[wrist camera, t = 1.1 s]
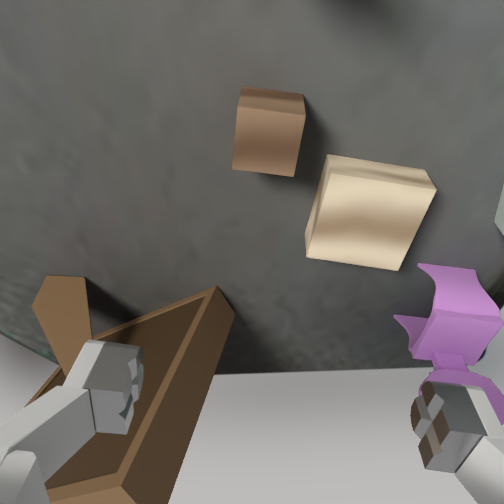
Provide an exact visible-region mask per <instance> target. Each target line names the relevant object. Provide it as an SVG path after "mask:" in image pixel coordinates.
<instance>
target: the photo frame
mask: <svg viewBox="0 0 504 504" xmlns="http://www.w3.org/2000/svg"><path fill="white" fill-rule="evenodd" d="M32 308H33V310H34V312H35V314H36V316H37V319H38V321H39V323H40V325H41V327H42V329H43V331H44V333H45V335H46V337H47V339H48V341H49V343H50V345H51V347H52V349H53V351H54V354H55V356H56V358H57V360H58V362H59V364H60V366H59V367H58V368H57V369H56V370H55V372H54V373H53V374H52V375H51V376H50V378H49V379H48V380H47V381H46V382H45V384H44V385H43V386H42V387H41V388H40V389H39V391H38V392H37V393H36V394H35V395H34V396H33V398H32V399H31V400H30V401H29V402H28V404H27V405H26V406H28V405H29V404H31V403H32V402H34V401H35V400H36V399H38V398H39V397H41V396H42V395H44V394H45V393H47V392H48V391H50V390H51V389H53V388H54V387H56V386H63V384H64V382H65V380H66V378H67V376H68V374H69V372H70V371H71V369H72V367H73V365H74V363H75V361H76V359H77V357H78V355H79V353H80V351H81V350H82V348H83V346H84V344H85V343H86V342H87V341H88V340H89V339H91V340H98V341H105V342H113V343H120V344H127V345H134V346H141V347H143V358H142V361H141V364H142V365H143V366H144V377H143V383H142V388H141V392H140V395H139V399H138V400H137V401H135V402H134V403H133V408H134V414H133V417H132V420H131V423H130V426H129V429H128V432H127V435H125V434H114V433H102V432H95V435H94V436H93V437H92V438H91V439H89V440H88V441H87V442H86V443H85V444H84V445H83V446H82V447H81V448H80V449H79V450H78V451H77V452H76V453H75V454H74V455H73V456H72V457H71V458H70V459H69V460H68V461H67V462H66V463H65V464H64V465H62V466H61V467H60V468H59V469H58V470H57V471H56V472H55V473H54V474H53V475H52V476H51V477H50V478H49V479H48V480H47V481H46V482H45V483H44V484H45V488H46V491H47V494H48V498H49V501H50V504H168V502H169V499H170V496H171V493H172V491H173V488H174V485H175V482H176V479H177V477H178V474H179V471H180V468H181V465H182V463H183V459H184V457H185V454H186V451H187V449H188V446H189V443H190V440H191V437H192V434H193V432H194V429H195V426H196V423H197V421H198V418H199V415H200V412H201V409H202V406H203V404H204V401H205V398H206V395H207V392H208V390H209V387H210V384H211V381H212V378H213V376H214V373H215V370H216V367H217V364H218V362H219V359H220V356H221V353H222V350H223V348H224V345H225V342H226V339H227V336H228V334H229V331H230V328H231V325H232V322H233V320H234V317H235V313H234V312H233V310H232V309H231V307H230V305H229V304H228V302H227V301H226V299H225V298H224V296H223V294H222V293H221V291H220V290H219V288H218V287H217V285H216V286H214V287H212V288H209V289H207V290H204V291H202V292H199V293H197V294H194V295H192V296H190V297H187V298H185V299H182V300H180V301H177V302H175V303H172V304H170V305H168V306H165V307H163V308H160V309H158V310H155V311H153V312H151V313H148V314H146V315H143V316H141V317H138V318H136V319H133V320H131V321H129V322H126V323H124V324H121V325H119V326H116V327H114V328H111V329H109V330H107V331H104V332H102V333H99V334H97V335H94V336H92V329H91V321H90V313H89V305H88V297H87V289H86V280H85V277H68V276H50V275H47V276H46V278H45V280H44V282H43V284H42V286H41V288H40V290H39V292H38V294H37V296H36V298H35V300H34V302H33V304H32ZM26 406H25V407H26ZM25 407H24V408H25Z"/></svg>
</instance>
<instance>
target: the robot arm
mask: <svg viewBox="0 0 504 504" xmlns="http://www.w3.org/2000/svg"><path fill="white" fill-rule="evenodd" d="M142 358H143V347H141V346H134V345H127V344H120V343H113V342H105V341H98V340H91V339H89V340H88V341H87V342H86V343H85V344H84V346H83V348H82V350H81V351H80V353H79V355H78V357H77V359H76V361H75V363H74V365H73V367H72V369H71V371H70V372H69V374H68V376H67V378H66V380H65V382H64V384H63V386H56V387H54V388H53V389H51V390H50V391H48V392H47V393H45V394H44V395H42V396H41V397H39V398H38V399H36V400H35V401H34V402H32V403H31V404H29V405H28V406H26V407H25V408H23V409H22V410H20V411H19V412H17V413H16V414H14V415H13V416H11V417H10V418H8V419H7V420H5V421H4V422H2V423H1V424H0V504H50V501H49V498H48V494H47V491H46V488H45V484H44V483H45V482H46V481H47V480H48V479H49V478H50V477H51V476H52V475H53V474H54V473H55V472H56V471H57V470H58V469H59V468H60V467H61V466H62V465H64V464H65V463H66V462H67V461H68V460H69V459H70V458H71V457H72V456H73V455H74V454H75V453H76V452H77V451H78V450H79V449H80V448H81V447H82V446H83V445H84V444H85V443H86V442H87V441H88V440H89V439H91V438H92V437H93V436H94V435H95V432H102V433H114V434H125V435H127V432H128V429H129V426H130V423H131V420H132V417H133V414H134V408H133V403H134V402H135V401H137V400H138V399H139V395H140V392H141V388H142V383H143V377H144V366H143V365H142V364H141V361H142ZM420 389H421V392H422V395H421V396H419V397H417V398H415V400H414V402H413V404H412V406H411V415H410V416H411V423H412V427H413V431H414V432H415V433H416V434H417V435H418V436H419V438H420V439H421V441H420V443H419V446H418V447H419V451H420V454H421V457H422V460H423V464H424V467H425V469H428V470H435V471H442V472H449V473H456V474H455V476H456V477H457V478H458V479H459V481H460V482H461V483H462V484H463V485H464V487H465V488H466V489H467V491H468V492H469V493H470V494H471V495H472V497H473V498H474V499H475V501H476V502H477V503H478V504H504V430H503V428H502V426H501V424H500V422H499V420H498V418H497V416H496V414H495V412H494V410H493V408H492V406H491V404H490V402H489V400H488V398H487V396H486V394H485V392H484V390H483V389H482V388H481V387H478V386H470V385H460V384H454V383H445V382H436V381H426V382H424V383H423V385H422V387H421V388H420Z"/></svg>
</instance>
